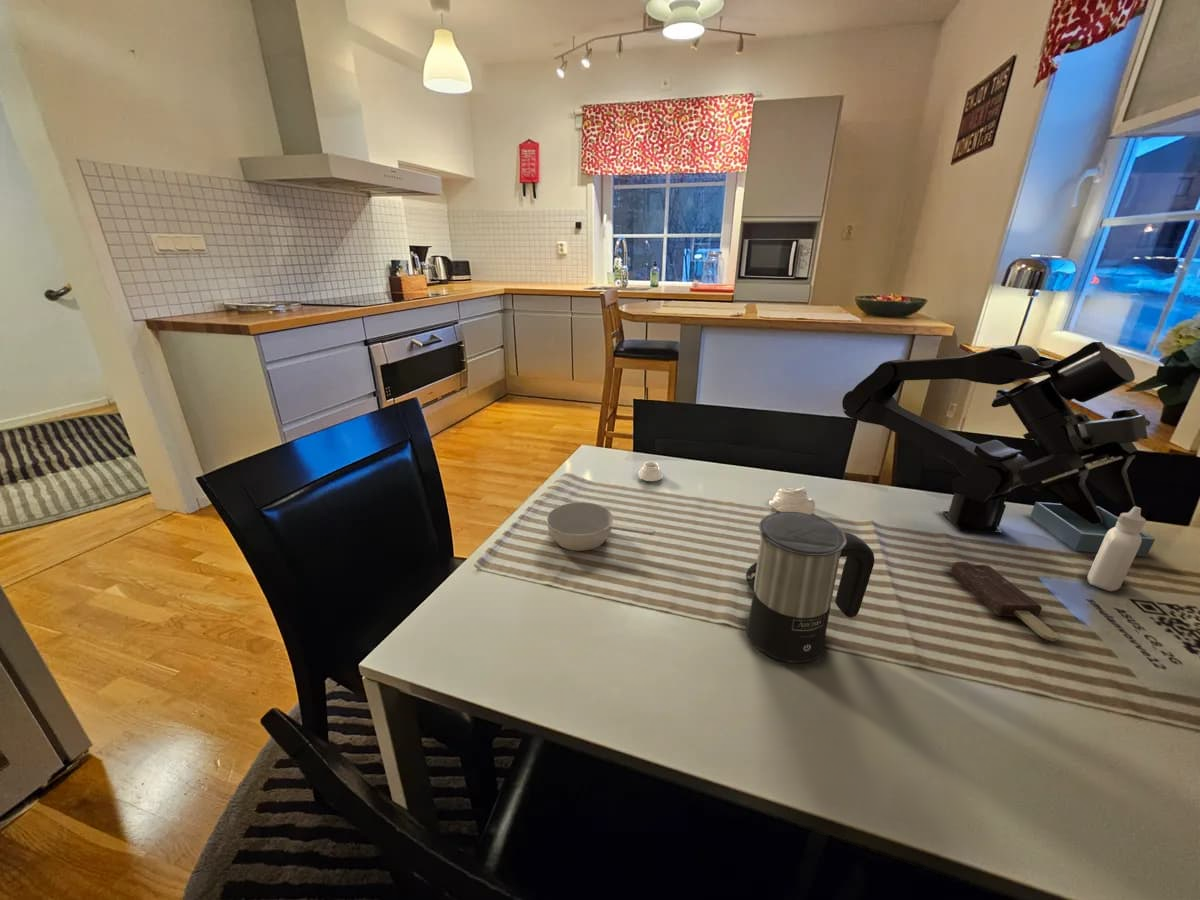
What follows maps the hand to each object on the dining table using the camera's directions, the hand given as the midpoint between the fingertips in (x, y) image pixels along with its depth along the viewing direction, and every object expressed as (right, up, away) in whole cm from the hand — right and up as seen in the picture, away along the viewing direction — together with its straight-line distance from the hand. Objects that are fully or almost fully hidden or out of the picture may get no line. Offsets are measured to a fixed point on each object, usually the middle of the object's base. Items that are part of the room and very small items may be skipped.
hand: (1114, 516), depth 68 cm
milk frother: (-49, -12, -5) cm, 50 cm away
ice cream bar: (-18, -12, -2) cm, 21 cm away
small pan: (-72, -6, +12) cm, 73 cm away
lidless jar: (-61, +3, +35) cm, 70 cm away
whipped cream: (-37, -2, +22) cm, 43 cm away
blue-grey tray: (+10, -5, +14) cm, 18 cm away
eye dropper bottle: (+1, -10, +2) cm, 10 cm away
